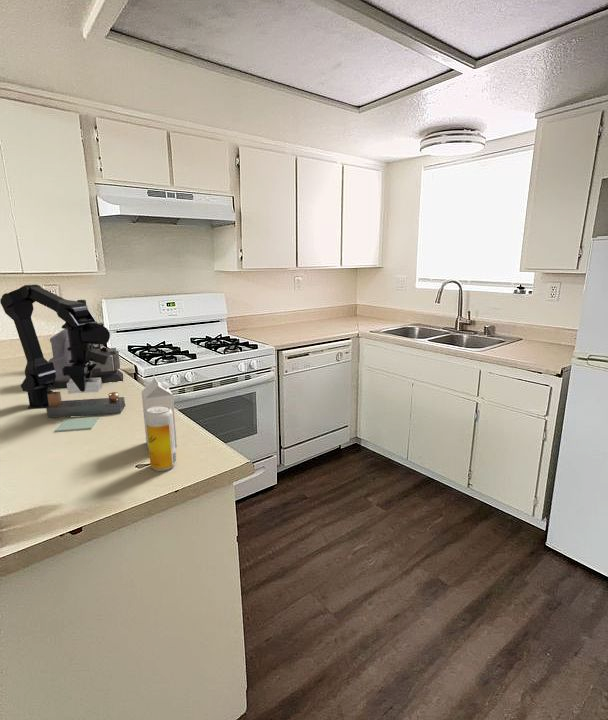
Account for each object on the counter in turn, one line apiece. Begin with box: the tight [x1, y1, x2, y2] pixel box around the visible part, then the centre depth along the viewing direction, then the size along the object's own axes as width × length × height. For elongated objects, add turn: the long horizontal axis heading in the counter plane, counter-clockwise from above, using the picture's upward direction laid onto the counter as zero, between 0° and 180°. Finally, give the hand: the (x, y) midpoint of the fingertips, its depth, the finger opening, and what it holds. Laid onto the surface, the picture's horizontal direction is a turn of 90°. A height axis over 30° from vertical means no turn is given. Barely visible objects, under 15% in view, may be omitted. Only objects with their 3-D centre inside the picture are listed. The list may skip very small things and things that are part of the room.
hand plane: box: [45, 391, 126, 419], centre depth 137 cm, size 22×7×8 cm, turn 102°
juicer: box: [47, 329, 124, 390], centre depth 170 cm, size 30×16×24 cm, turn 112°
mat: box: [54, 416, 100, 433], centre depth 127 cm, size 10×9×1 cm
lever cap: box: [66, 378, 103, 395], centre depth 136 cm, size 9×5×4 cm, turn 102°
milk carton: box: [141, 375, 178, 449], centre depth 112 cm, size 7×7×19 cm
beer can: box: [146, 405, 177, 472], centre depth 100 cm, size 6×6×15 cm
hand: (85, 388), depth 136 cm, fingers closed on lever cap, 5 cm apart
